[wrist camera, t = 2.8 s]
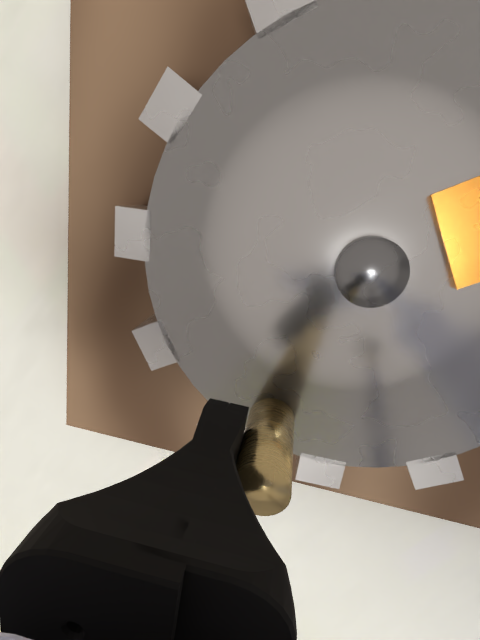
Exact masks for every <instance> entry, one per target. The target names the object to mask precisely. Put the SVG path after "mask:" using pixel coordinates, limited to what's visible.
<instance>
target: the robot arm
mask: <svg viewBox="0 0 480 640" xmlns="http://www.w3.org/2000/svg"><path fill="white" fill-rule="evenodd" d="M248 410H249V407H247V406H243V405H238V404H234V403H230V404H229V402H225V401H221V400H216V399H212V398H210V399H209V400H208V401H207V403H206V404H205V406H204V407H203V410H202V413H201V416H200V419H199V421H198V424H197V427H196V430H195V433H194V436H193V439H192V440H191V441H189V442H188V443H187V444H186V445H184V446H183V447H182V448H180V449H179V450H178V451H176V452H175V453H173V454H172V455H170V456H169V457H167V458H166V459H164V460H163V461H161V462H159V463H158V464H156V465H154V466H152V467H151V468H149V469H147V470H145V471H143V472H141V473H139V474H138V475H136V476H133V477H131V478H129V479H127V480H124V481H122V482H120V483H117V484H115V485H112V486H110V487H107V488H104V489H102V490H99V491H96V492H93V493H90V494H86V495H83V496H80V497H77V498H73V499H70V500H67V501H63V502H59V503H57V504H56V505H55V506H54V507H53V508H52V509H51V510H50V511H49V512H48V513H47V514H46V515H45V516H44V517H43V518H42V519H41V520H40V521H39V522H38V523H37V524H36V526H35V527H34V528H33V529H32V530H31V531H30V532H29V534H28V535H27V536H26V537H25V538H24V540H23V541H22V542H21V543H20V545H19V546H18V547H17V548H16V549H15V551H14V552H13V553H12V554H11V556H10V557H9V558H8V559H7V560H6V562H5V563H4V565H3V567H2V569H1V570H0V626H1V632H0V640H297V629H296V617H295V609H294V602H293V596H292V591H291V586H290V581H289V577H288V573H287V568H286V565H285V564H284V562H283V561H282V559H281V558H280V556H279V555H278V553H277V552H276V550H275V549H274V547H273V546H272V544H271V543H270V541H269V539H268V538H267V536H266V534H265V532H264V531H263V529H262V527H261V525H260V524H259V522H258V520H257V518H256V516H255V513H254V511H253V509H252V507H251V505H250V503H249V501H248V499H247V496H246V494H245V491H244V489H243V486H242V483H241V480H240V477H239V474H238V471H237V468H236V463H237V459H238V455H239V451H240V447H241V444H242V440H243V436H244V431H245V425H246V420H247V415H248Z"/></svg>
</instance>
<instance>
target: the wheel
mask: <svg viewBox="0 0 480 640" xmlns="http://www.w3.org/2000/svg"><path fill="white" fill-rule="evenodd" d="M245 3H246V7H247V10H248V13H249V17H250V20H251V24H252V27H253V29H254V32H255V35H254V36H252V37H251V38H250V39H249V40H248V41H247V42H245V43H244V44H243V45H242V46H241V47H240V48H239V49H237V50H236V51H235V52H234V53H233V54H232V55H230V56H229V57H228V58H227V59H226V60H225V61H224V62H223V63H222V64H221V65H220V66H219V67H218V69H217V70H216V71H215V72H214V73H213V74H212V75H211V76H210V78H209V79H208V80H207V81H206V82H205V83H204V84H203V85H202V87H201V88H200V89H199V91H197V90H196V89H195V88H193V87H192V86H191V85H190V84H189V83H187V82H186V81H185V80H184V79H182V78H181V77H180V76H179V75H178V74H176V73H175V72H174V71H173V70H172V69H170V68H169V67H167V68H166V70H165V72H164V74H163V76H162V77H161V79H160V81H159V83H158V85H157V86H156V88H155V90H154V92H153V94H152V95H151V97H150V99H149V101H148V103H147V104H146V106H145V108H144V110H143V112H142V113H141V115H140V117H139V120H140V121H141V122H142V123H144V124H145V125H146V126H147V127H149V128H150V129H151V130H152V131H154V132H155V133H156V134H157V135H159V136H160V137H161V138H162V139H163V140H165V141H166V142H167V144H166V146H165V149H164V152H163V154H162V157H161V160H160V163H159V165H158V168H157V171H156V173H155V176H154V180H153V185H152V189H151V193H150V198H149V202H148V206H145V205H124V206H115V250H114V256H115V257H121V258H127V259H134V260H140V261H145V268H146V275H147V282H148V289H149V294H150V298H151V301H152V305H153V309H154V312H155V314H153V315H152V316H151V317H149V318H148V319H147V320H145V321H144V322H143V323H141V324H140V325H139V326H137V327H136V328H135V329H133V330H132V333H133V335H134V337H135V339H136V341H137V343H138V345H139V347H140V349H141V351H142V353H143V355H144V357H145V359H146V361H147V363H148V365H149V367H150V369H151V371H153V370H156V369H159V368H161V367H164V366H167V365H170V364H173V363H176V362H177V363H178V365H179V366H180V368H181V369H182V370H183V372H184V373H185V374H186V376H187V377H188V379H189V380H190V381H191V383H192V384H193V385H194V387H195V388H196V389H197V390H198V391H199V392H200V393H201V394H202V395H203V396H204V397H205V398H206V399H207V401H208V400H209V399H210V398H212V399H216V400H221V401H225V402H229V404H230V403H234V404H238V405H243V406H247V407H249V410H248V415H247V420H246V425H245V431H244V436H243V440H242V444H241V447H240V451H239V455H238V459H237V463H236V468H237V471H238V474H239V477H240V480H241V483H242V486H243V489H244V491H245V494H246V496H247V499H248V501H249V503H250V505H251V507H252V509H253V511H254V513H255V515H259V516H270V515H275V514H277V513H280V512H281V511H283V510H284V509H285V508H286V507H287V506H288V504H289V502H290V500H291V491H292V467H293V454H295V455H296V474H295V480H299V481H303V482H308V483H313V484H317V485H322V486H326V487H331V488H336V489H339V488H340V484H341V480H342V477H343V473H344V469H345V466H352V467H372V468H379V467H397V466H406V467H407V469H408V472H409V474H410V477H411V480H412V482H413V485H414V487H415V490H417V489H423V488H428V487H433V486H438V485H443V484H448V483H453V482H458V481H463V480H464V478H463V475H462V472H461V468H460V465H459V462H458V459H457V455H458V454H461V453H464V452H466V451H469V450H472V449H474V448H477V447H479V446H480V0H245ZM197 424H198V423H197Z"/></svg>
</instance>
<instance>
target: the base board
mask: <svg viewBox="0 0 480 640" xmlns="http://www.w3.org/2000/svg"><path fill="white" fill-rule="evenodd" d="M254 35H255V32H254V29H253V27H252V24H251V20H250V17H249V13H248V10H247V7H246V3H245V0H71V19H70V120H69V222H68V323H67V424H66V425H70V426H74V427H78V428H82V429H86V430H90V431H94V432H98V433H102V434H106V435H110V436H114V437H118V438H122V439H126V440H130V441H134V442H138V443H142V444H146V445H150V446H154V447H158V448H162V449H166V450H170V451H174V452H176V451H178V450H179V449H180V448H182V447H183V446H184V445H186V444H187V443H188V442H189V441H191V440H192V439H193V436H194V433H195V430H196V427H197V423H198V421H199V419H200V416H201V413H202V410H203V407H204V406H205V404H206V403H207V399H206V398H205V397H204V396H203V395H202V394H201V393H200V392H199V391H198V390H197V389H196V388H195V387H194V385H193V384H192V383H191V381H190V380H189V379H188V377H187V376H186V374H185V373H184V372H183V370H182V369H181V368H180V366H179V365H178V363H177V362H176V363H173V364H170V365H167V366H164V367H161V368H159V369H156V370H153V371H151V369H150V367H149V365H148V363H147V361H146V359H145V357H144V355H143V353H142V351H141V349H140V347H139V345H138V343H137V341H136V339H135V337H134V335H133V333H132V330H133V329H135V328H136V327H137V326H139V325H140V324H141V323H143V322H144V321H145V320H147V319H148V318H149V317H151V316H152V315H153V314H155V312H154V309H153V305H152V301H151V298H150V294H149V289H148V282H147V275H146V268H145V261H140V260H134V259H127V258H121V257H115V256H114V250H115V206H124V205H145V206H148V202H149V198H150V193H151V189H152V185H153V180H154V176H155V173H156V171H157V168H158V165H159V163H160V160H161V157H162V154H163V152H164V149H165V146H166V144H167V142H166V141H165V140H163V139H162V138H161V137H160V136H159V135H157V134H156V133H155V132H154V131H152V130H151V129H150V128H149V127H147V126H146V125H145V124H144V123H142V122H141V121H140V120H139V117H140V115H141V113H142V112H143V110H144V108H145V106H146V104H147V103H148V101H149V99H150V97H151V95H152V94H153V92H154V90H155V88H156V86H157V85H158V83H159V81H160V79H161V77H162V76H163V74H164V72H165V70H166V68H167V67H169V68H170V69H172V70H173V71H174V72H175V73H176V74H178V75H179V76H180V77H181V78H182V79H184V80H185V81H186V82H187V83H189V84H190V85H191V86H192V87H193V88H195V89H196V90H197V91H199V89H200V88H201V87H202V85H203V84H204V83H205V82H206V81H207V80H208V79H209V78H210V76H211V75H212V74H213V73H214V72H215V71H216V70H217V69H218V67H219V66H220V65H221V64H222V63H223V62H224V61H225V60H226V59H227V58H228V57H229V56H230V55H232V54H233V53H234V52H235V51H236V50H237V49H239V48H240V47H241V46H242V45H243V44H244V43H245V42H247V41H248V40H249V39H250V38H251V37H252V36H254ZM457 459H458V462H459V465H460V468H461V472H462V475H463V478H464V480H463V481H458V482H453V483H448V484H443V485H438V486H433V487H428V488H423V489H417V490H415V487H414V485H413V482H412V480H411V477H410V474H409V472H408V469H407V467H406V466H397V467H379V468H372V467H352V466H345V469H344V473H343V477H342V480H341V484H340V488H339V489H336V488H331V487H326V486H322V485H317V484H313V483H308V482H303V481H299V480H295V474H296V455H295V454H293V467H292V481H293V482H297V483H301V484H305V485H309V486H313V487H317V488H321V489H325V490H329V491H333V492H337V493H341V494H345V495H349V496H353V497H357V498H361V499H365V500H369V501H373V502H377V503H381V504H385V505H389V506H393V507H397V508H401V509H405V510H409V511H413V512H417V513H421V514H425V515H429V516H433V517H437V518H441V519H445V520H449V521H453V522H457V523H461V524H465V525H469V526H473V527H477V528H480V446H479V447H477V448H474V449H472V450H469V451H466V452H464V453H461V454H458V455H457Z"/></svg>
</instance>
